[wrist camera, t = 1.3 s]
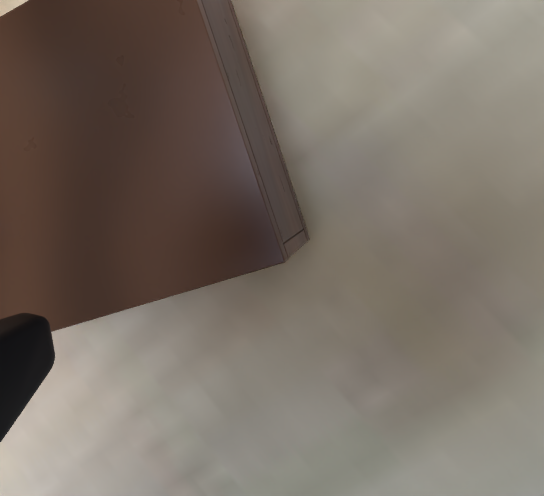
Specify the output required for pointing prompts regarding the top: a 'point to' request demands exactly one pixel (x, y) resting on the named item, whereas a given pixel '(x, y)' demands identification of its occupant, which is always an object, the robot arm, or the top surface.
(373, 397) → the top surface
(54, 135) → the cabinet
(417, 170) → the top surface
